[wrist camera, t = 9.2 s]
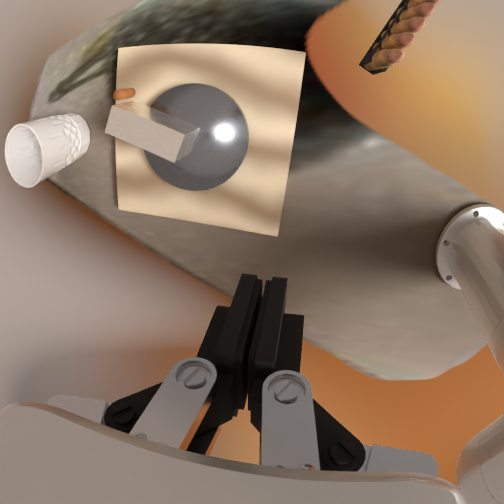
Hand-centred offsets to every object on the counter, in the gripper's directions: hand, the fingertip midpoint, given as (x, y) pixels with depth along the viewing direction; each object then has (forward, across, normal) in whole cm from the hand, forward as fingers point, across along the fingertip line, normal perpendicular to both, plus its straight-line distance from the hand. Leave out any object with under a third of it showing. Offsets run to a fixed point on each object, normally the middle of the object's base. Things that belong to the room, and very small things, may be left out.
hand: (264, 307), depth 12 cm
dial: (+23, +12, -3) cm, 26 cm away
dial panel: (+25, +11, -2) cm, 27 cm away
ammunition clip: (+25, -10, -15) cm, 31 cm away
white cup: (+25, +30, -3) cm, 39 cm away
